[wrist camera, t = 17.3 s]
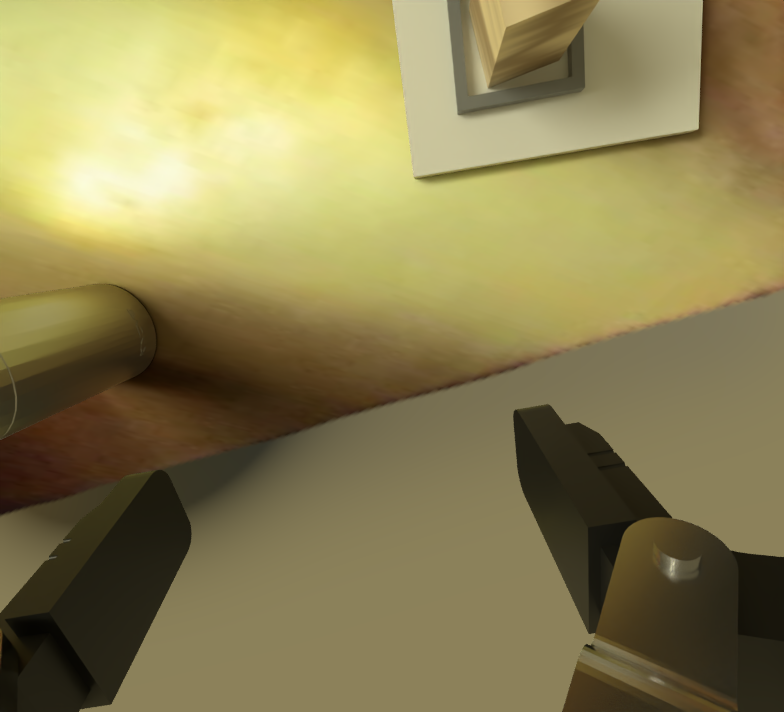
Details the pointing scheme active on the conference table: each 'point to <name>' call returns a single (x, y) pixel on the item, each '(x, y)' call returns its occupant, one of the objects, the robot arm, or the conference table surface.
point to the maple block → (524, 33)
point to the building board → (547, 85)
